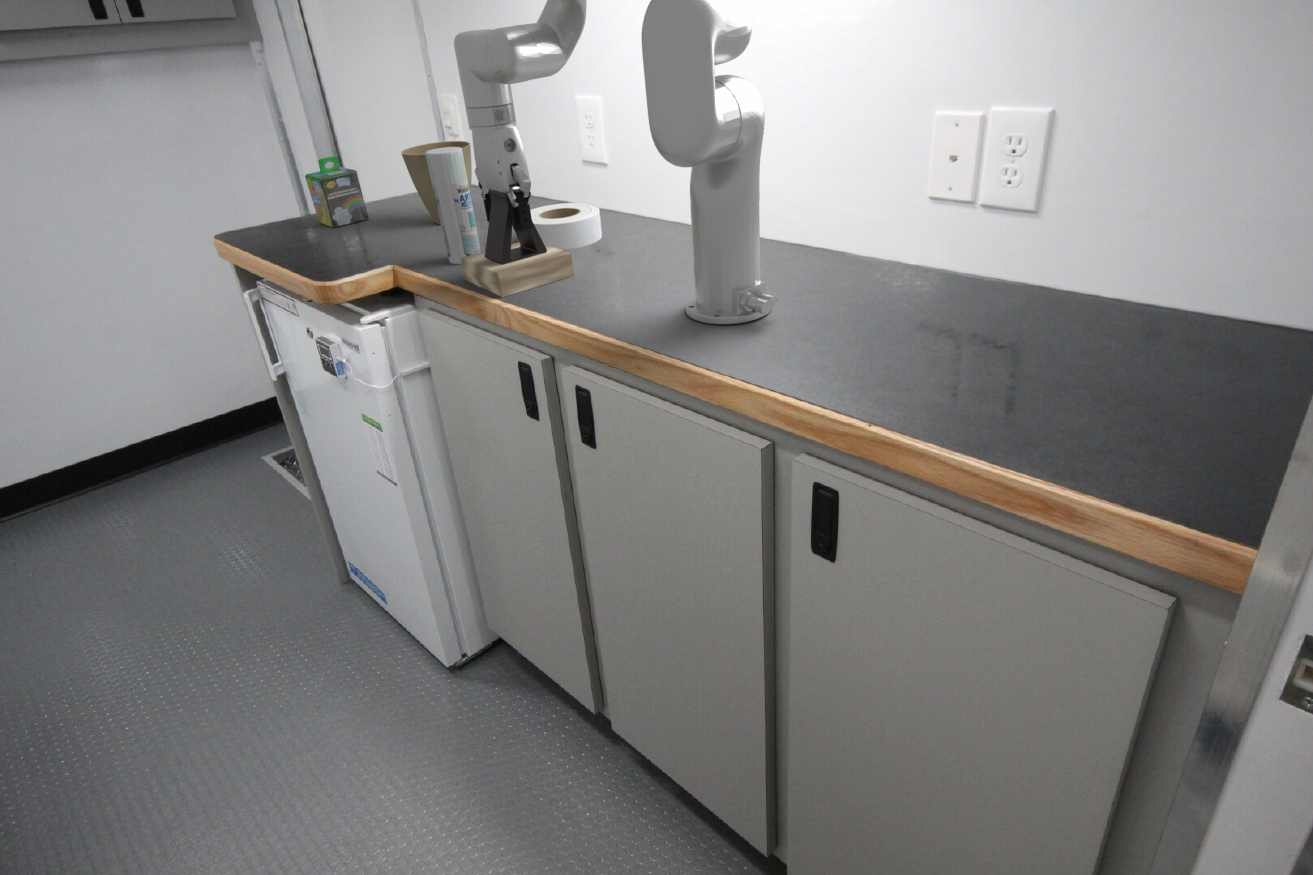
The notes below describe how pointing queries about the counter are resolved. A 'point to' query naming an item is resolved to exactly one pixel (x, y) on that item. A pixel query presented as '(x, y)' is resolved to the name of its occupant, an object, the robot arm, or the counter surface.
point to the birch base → (517, 271)
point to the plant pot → (421, 175)
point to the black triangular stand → (509, 233)
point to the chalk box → (336, 194)
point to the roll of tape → (568, 225)
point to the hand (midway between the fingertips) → (509, 225)
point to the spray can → (453, 202)
